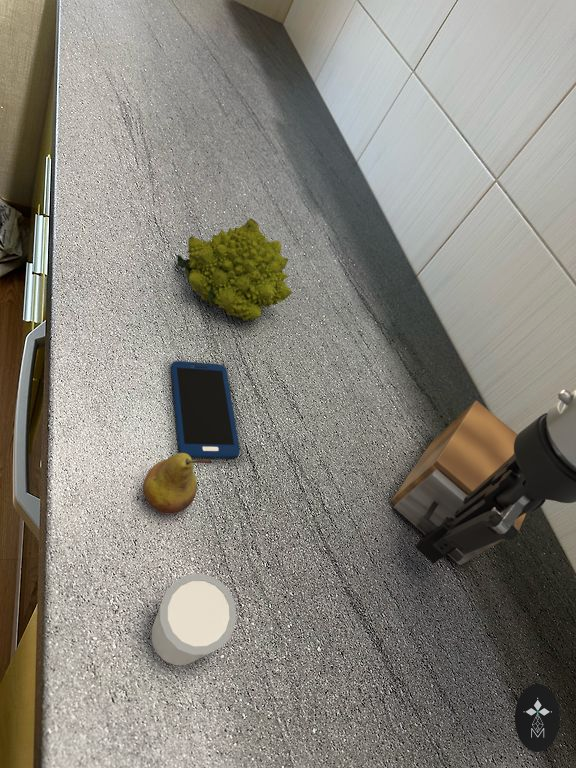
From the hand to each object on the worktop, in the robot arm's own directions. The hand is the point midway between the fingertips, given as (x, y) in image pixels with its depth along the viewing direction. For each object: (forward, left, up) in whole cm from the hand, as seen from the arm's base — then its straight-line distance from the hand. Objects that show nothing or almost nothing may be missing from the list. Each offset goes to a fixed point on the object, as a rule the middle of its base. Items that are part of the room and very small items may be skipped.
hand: (426, 552), depth 66 cm
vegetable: (+15, +42, -5) cm, 45 cm away
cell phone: (-3, +31, -5) cm, 31 cm away
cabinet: (+13, 0, -5) cm, 14 cm away
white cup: (-24, +15, -5) cm, 29 cm away
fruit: (-15, +26, -5) cm, 30 cm away
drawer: (+9, 0, -4) cm, 10 cm away
